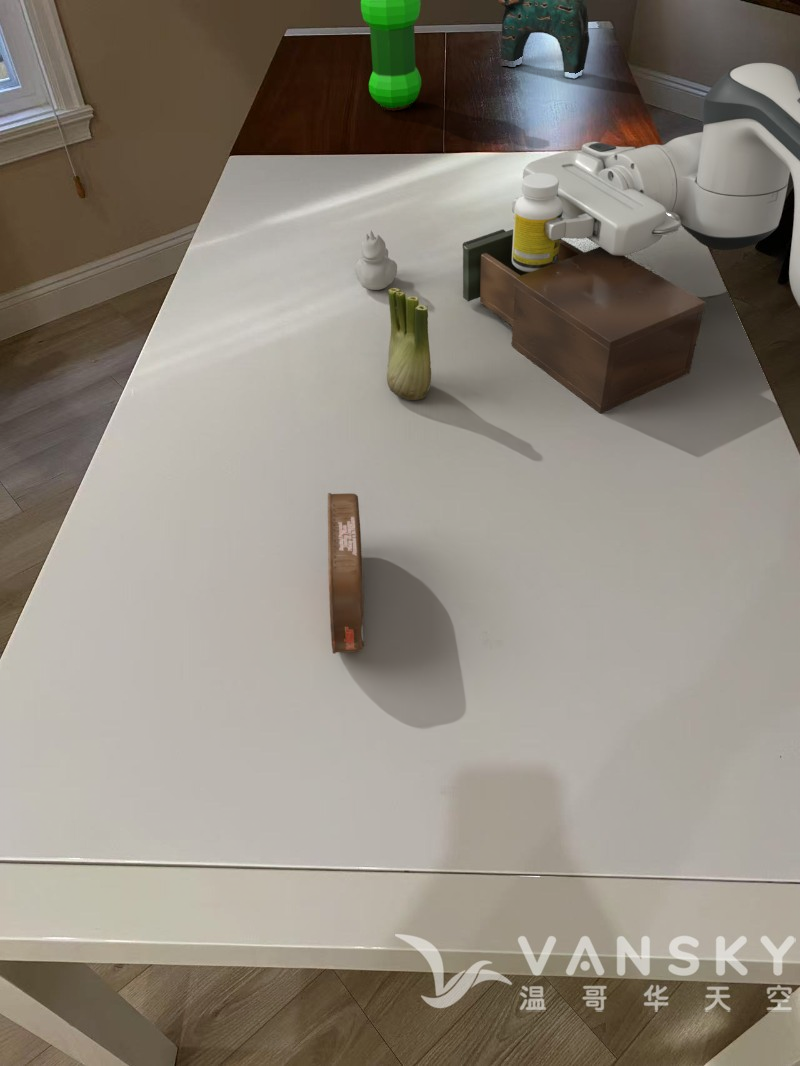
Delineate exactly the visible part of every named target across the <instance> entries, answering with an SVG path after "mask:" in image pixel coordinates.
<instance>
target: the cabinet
mask: <svg viewBox="0 0 800 1066" xmlns="http://www.w3.org/2000/svg"><path fill="white" fill-rule="evenodd" d="M583 252H584V253H582V254H579V255H576V256H573V257H571V258H568V259H565V260H562V261H560V262H557V263H554V264H552V265H549V266H546V267H543V268H541V269H538V270H535V271H532V272H530V273H527V274H524V275H521V276H519V277H516V278H515V289H514V310H513V326H512V331H511V332H512V333H511V347H512V348H513V349H515V350H516V351H517V352H519V353H520V354H521V355H523V356H524V357H525V358H527V359H528V360H529V361H530V362H532V363H533V364H534V365H536V366H537V367H538V368H540V369H541V370H542V371H544V373H546V374H548V375H549V376H550V377H552V378H553V379H554V380H556V382H558V383H559V384H561V385H562V386H563V387H564V388H566V389H567V390H568V391H570V392H571V393H572V394H573V395H575V396H577V397H578V398H579V399H580V400H582V401H583V402H584V403H586V404H587V405H588V406H590V408H592V409H593V410H595V411H596V412H597V413H599V414H602V413H604V412H606V411H609V410H611V409H613V408H616V407H618V406H619V405H622V404H625V403H627V402H629V401H631V400H633V399H636V398H637V397H640V396H642V395H645V394H646V393H649V392H651V391H653V390H656V389H658V388H660V387H662V386H664V385H666V384H668V383H672V382H674V381H675V380H678V379H680V378H682V377H685V376H687V375H689V374H690V373H691V368H692V364H693V360H694V356H695V352H696V348H697V344H698V338H699V334H700V329H701V326H702V323H703V322H702V321H703V317H704V312H705V309H706V306H707V305H706V304H707V302H706V301H705V300H703V299H701V298H699V297H698V296H696V295H694V294H692V293H691V292H689V291H687V290H685V289H684V288H682V287H680V286H678V285H676V284H674V283H673V282H672V281H669V280H667V279H666V278H664V277H662V276H661V275H658V274H657V273H655V272H654V271H651V270H650V269H649V268H647V267H645V266H643V265H641V264H640V263H638V262H636V261H634V260H632V259H631V258H628V257H627V256H626V255H625V256H617V255H612V254H610V253H609V252H607V251H606V250H604V249H603V248H601V247H600V246H598V247H595V248H592V249H589V250H587V251H583Z"/></svg>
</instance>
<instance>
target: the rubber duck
mask: <svg viewBox="0 0 800 1066" xmlns="http://www.w3.org/2000/svg"><path fill="white" fill-rule="evenodd" d="M361 256H362V257H360V258H359V259H358V260H357V261H356V263H355V265H354V272H355V276H356V278H357V280H358V281H359V284H360V286H361V287H363V288H365V289H368V290H372V291H379V290H383V289H386V288H387V287H388V286H389V285H390V284H392V283H393V281H394V280H395V279H396V277H397V274H398V264H397V262H396V261H395V260H394V259H391V258H390V257H389V250H388V248H387V245H386V242H385V240H384V239H383V238H382V237H381V236H380V235H379V234H377V236H375V234H374V233H373V231H372V229H370V231H369V234H368V233H366V234H365V237H364V239H363V241H362V243H361Z"/></svg>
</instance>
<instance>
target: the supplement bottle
mask: <svg viewBox="0 0 800 1066" xmlns="http://www.w3.org/2000/svg"><path fill="white" fill-rule="evenodd" d="M521 181H522V182H521V196H518V197H519V198H518V197H517V198H518V200H517V201H516V203H515V209H514V213H513V228H512V229H513V246H512V263H513V265H514V266H515V267H516V268H517V269H519V270H521V271H524V272H529V273H530V272H532V271H535V270H538V269H541V268H543V267H546V266H549V265H552V264H554V263H557V261H558V253H559V242H560V239H557V240H554V241H553V240H551V239H550V238H548V237H547V236H546V235H544V230H545V228H544V225H545V222H546V221H547V220H552V219H554V218H557V217H558V218H560V219H562V212H563V204H562V201H561V200H560V199H559V198H558V197H557V196H556V195H557V194H558V187H559V180H558V178H557V177H556V176H554V175H551V174H546V173H536V174H531V175H528V176H526V177H525V178H524V179H523V178H522V180H521Z"/></svg>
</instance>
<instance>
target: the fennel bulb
mask: <svg viewBox="0 0 800 1066" xmlns="http://www.w3.org/2000/svg"><path fill="white" fill-rule="evenodd" d="M387 295H388V303H389V304H388V305H389V314H390V316H389V317H390V336H389V345H388V363H387V371H386V382H387V383H386V384H387V386H388V388H389V390H390V391H391V392H392V393H393V394H394V395H395V396H397V397H399V398H400V399H403V400H407V401H418V400H419V401H420V400H423V399H425V398H426V396H427V394H428V392H429V390H430V386H431V383H432V367H431V363H432V361H431V352H430V340H429V310H428V309H429V308H428V306H427V305H425V304H420V303H419V302H420V301H419V297H417V296H411V295H410V296H408V297H407V296H406V293H405V292H404V291H402V290H401V289H399V288H398V287H391V288H390V289H388V290H387Z"/></svg>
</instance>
